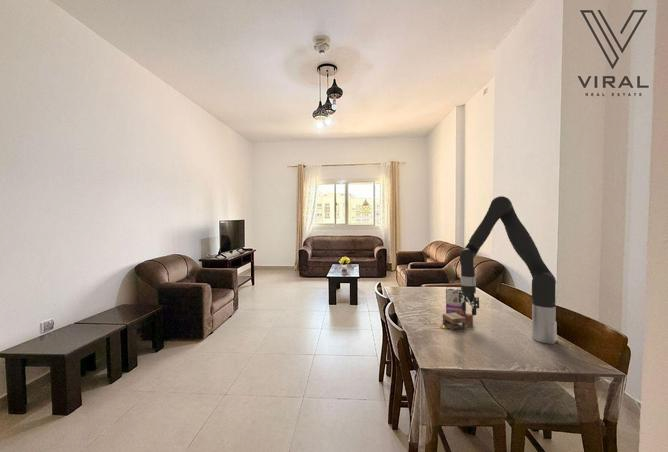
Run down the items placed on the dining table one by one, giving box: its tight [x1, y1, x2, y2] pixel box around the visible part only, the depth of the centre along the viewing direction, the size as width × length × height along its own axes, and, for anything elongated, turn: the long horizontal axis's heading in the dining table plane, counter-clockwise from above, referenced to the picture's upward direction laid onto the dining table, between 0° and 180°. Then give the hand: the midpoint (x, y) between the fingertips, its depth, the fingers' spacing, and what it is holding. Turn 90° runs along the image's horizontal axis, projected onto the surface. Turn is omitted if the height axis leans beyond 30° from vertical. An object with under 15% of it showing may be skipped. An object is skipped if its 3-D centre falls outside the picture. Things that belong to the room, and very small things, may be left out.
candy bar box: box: [445, 286, 467, 317], centre depth 178 cm, size 11×5×16 cm, turn 62°
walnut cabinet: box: [442, 313, 466, 331], centre depth 159 cm, size 8×9×6 cm
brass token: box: [439, 324, 449, 330], centre depth 158 cm, size 4×4×1 cm
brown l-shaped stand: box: [445, 312, 474, 329], centre depth 160 cm, size 15×4×6 cm, turn 102°
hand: (468, 312), depth 161 cm, fingers open, 8 cm apart
